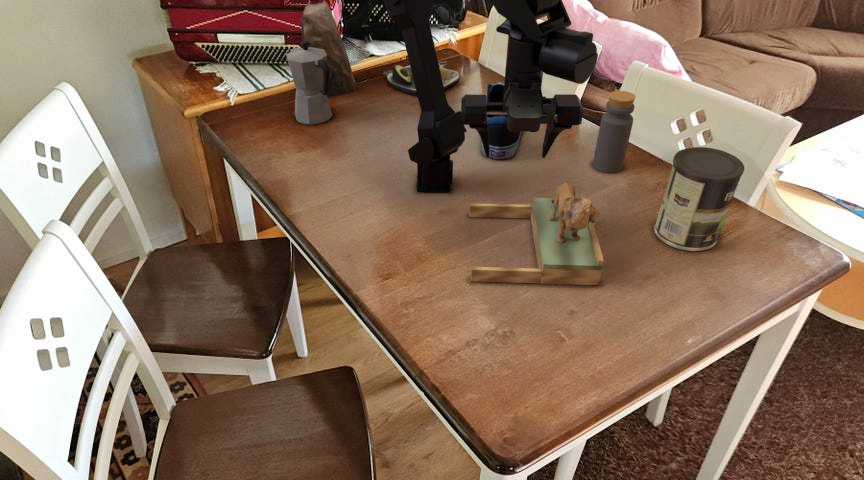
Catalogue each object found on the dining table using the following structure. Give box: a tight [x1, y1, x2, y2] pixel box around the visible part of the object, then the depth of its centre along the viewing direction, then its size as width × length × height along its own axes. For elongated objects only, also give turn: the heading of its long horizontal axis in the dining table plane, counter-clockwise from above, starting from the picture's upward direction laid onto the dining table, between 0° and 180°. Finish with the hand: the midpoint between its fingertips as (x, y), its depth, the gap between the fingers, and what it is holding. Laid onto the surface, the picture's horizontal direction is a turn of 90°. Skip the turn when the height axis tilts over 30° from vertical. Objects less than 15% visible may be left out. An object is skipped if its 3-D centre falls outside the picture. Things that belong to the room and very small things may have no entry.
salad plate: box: [382, 60, 460, 97], centre depth 161 cm, size 19×18×5 cm
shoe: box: [480, 81, 523, 160], centre depth 136 cm, size 11×30×12 cm, turn 169°
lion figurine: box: [549, 181, 602, 243], centre depth 100 cm, size 15×5×9 cm, turn 6°
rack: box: [469, 193, 605, 286], centre depth 104 cm, size 20×19×5 cm
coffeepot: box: [285, 40, 333, 126], centre depth 142 cm, size 15×9×18 cm, turn 37°
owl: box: [299, 0, 357, 97], centre depth 156 cm, size 13×13×20 cm
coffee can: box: [653, 146, 745, 252], centre depth 103 cm, size 10×10×14 cm
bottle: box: [592, 90, 636, 174], centre depth 121 cm, size 6×6×15 cm
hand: (515, 156), depth 104 cm, fingers open, 9 cm apart
